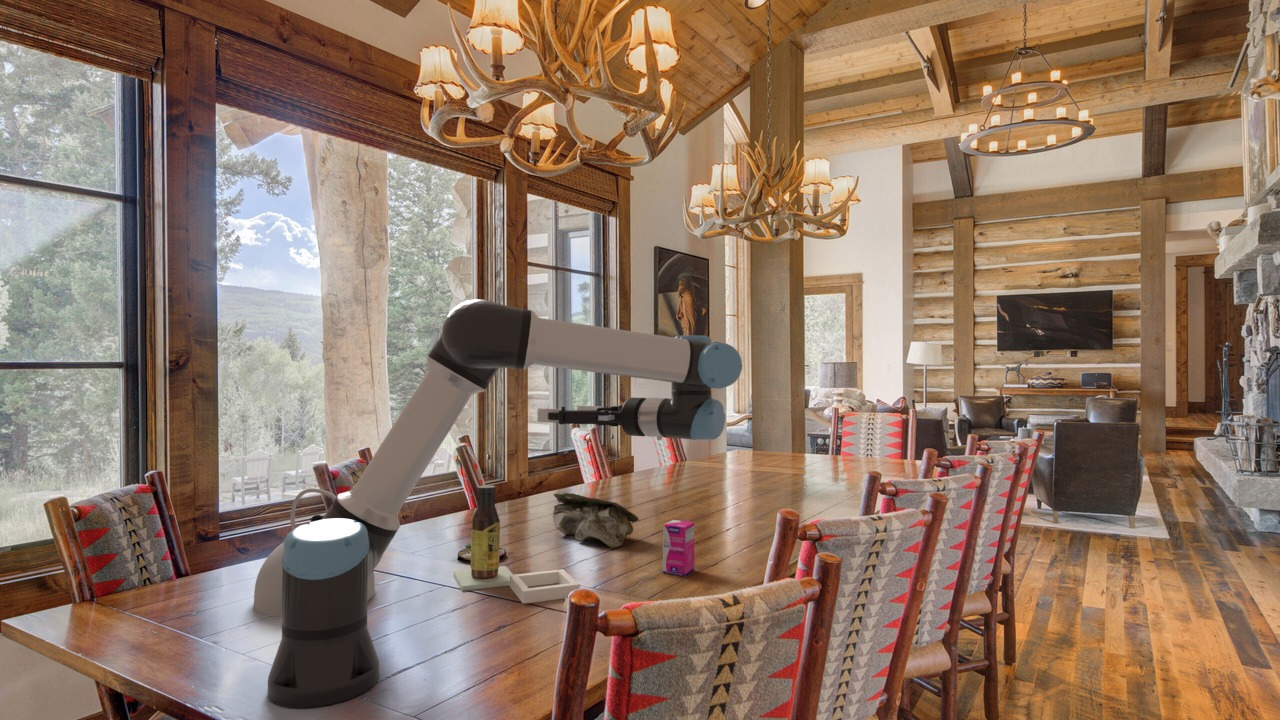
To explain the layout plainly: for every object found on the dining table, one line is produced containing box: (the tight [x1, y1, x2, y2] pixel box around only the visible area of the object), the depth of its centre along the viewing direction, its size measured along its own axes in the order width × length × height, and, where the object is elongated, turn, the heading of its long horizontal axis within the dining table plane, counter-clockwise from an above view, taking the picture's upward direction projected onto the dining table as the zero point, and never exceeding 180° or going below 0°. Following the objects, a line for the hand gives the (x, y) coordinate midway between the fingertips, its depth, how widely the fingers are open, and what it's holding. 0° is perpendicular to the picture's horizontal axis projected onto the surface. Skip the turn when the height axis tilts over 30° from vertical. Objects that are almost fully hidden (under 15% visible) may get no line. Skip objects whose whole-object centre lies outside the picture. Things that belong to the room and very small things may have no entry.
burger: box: [456, 542, 507, 561], centre depth 175 cm, size 12×12×8 cm
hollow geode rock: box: [552, 492, 640, 549], centre depth 194 cm, size 28×13×15 cm
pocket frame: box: [509, 568, 581, 605], centre depth 148 cm, size 12×12×2 cm
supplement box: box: [662, 519, 695, 577], centre depth 163 cm, size 6×6×12 cm
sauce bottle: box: [470, 484, 501, 578], centre depth 156 cm, size 6×6×20 cm
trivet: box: [452, 565, 514, 592], centre depth 156 cm, size 12×12×1 cm
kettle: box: [253, 487, 376, 618], centre depth 143 cm, size 25×23×23 cm
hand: (559, 413), depth 146 cm, fingers open, 13 cm apart
